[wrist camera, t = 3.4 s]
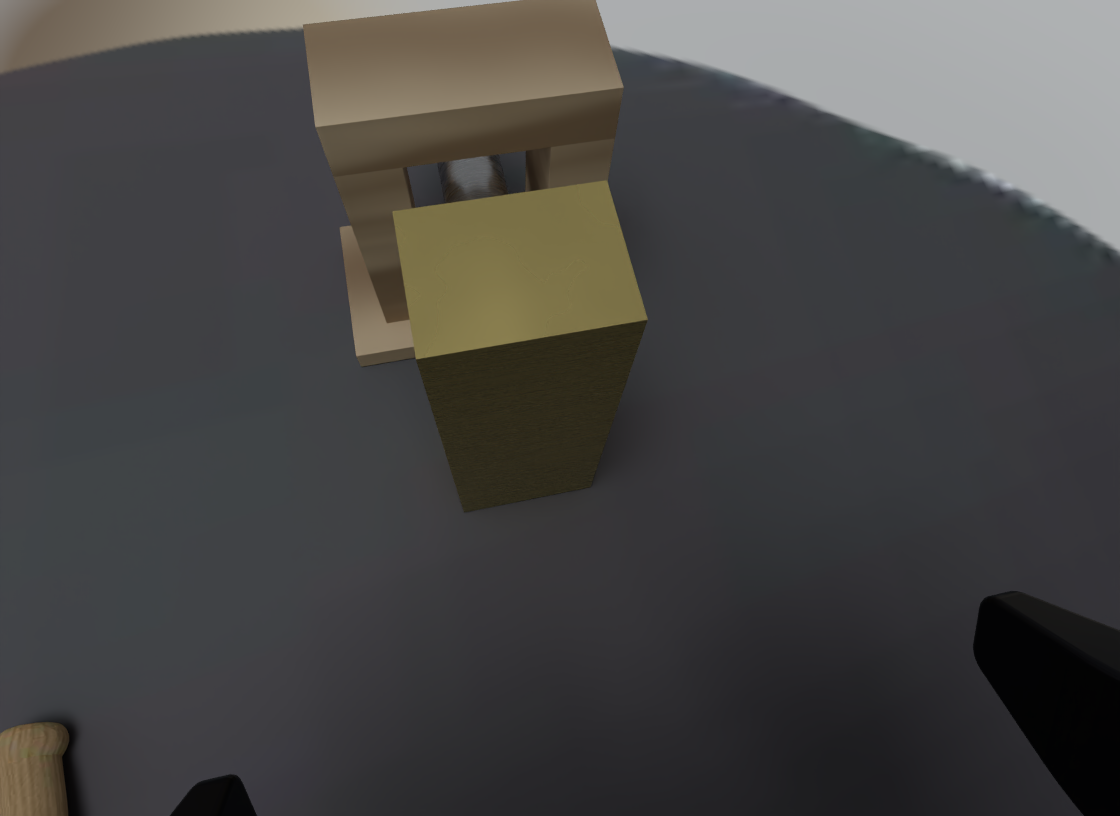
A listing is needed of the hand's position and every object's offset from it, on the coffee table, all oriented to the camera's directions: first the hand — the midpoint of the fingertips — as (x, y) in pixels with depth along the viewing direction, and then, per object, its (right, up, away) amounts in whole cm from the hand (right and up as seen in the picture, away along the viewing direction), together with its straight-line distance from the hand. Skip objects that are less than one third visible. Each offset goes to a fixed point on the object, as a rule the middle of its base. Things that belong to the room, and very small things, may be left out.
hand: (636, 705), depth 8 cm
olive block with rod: (-3, +6, +16) cm, 18 cm away
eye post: (-4, +8, +17) cm, 19 cm away
